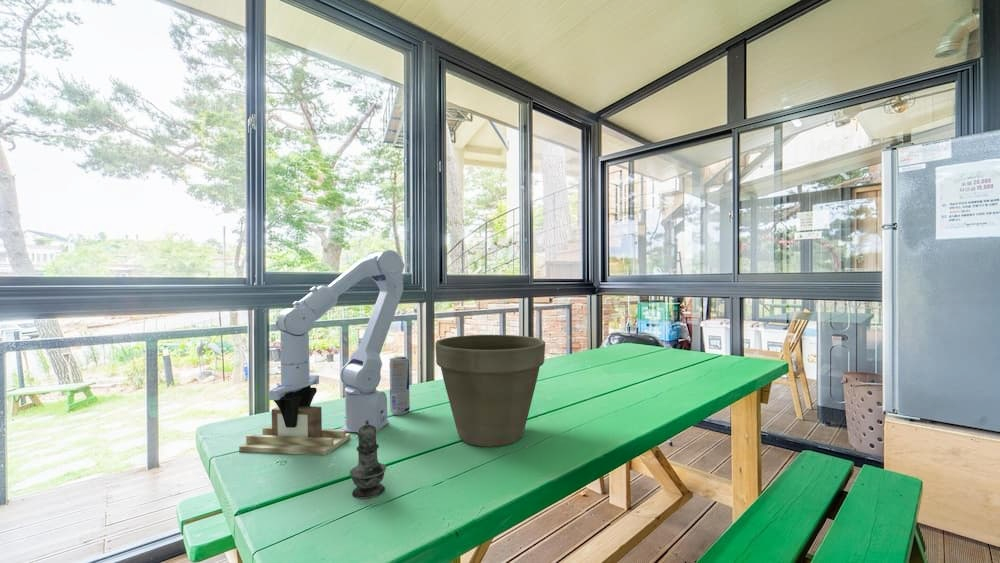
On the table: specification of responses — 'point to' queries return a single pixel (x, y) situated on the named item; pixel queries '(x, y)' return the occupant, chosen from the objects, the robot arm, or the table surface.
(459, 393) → the plant pot
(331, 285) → the robot arm
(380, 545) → the table surface
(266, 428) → the ledge
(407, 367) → the beverage can
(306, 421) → the frame
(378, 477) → the salt shaker
